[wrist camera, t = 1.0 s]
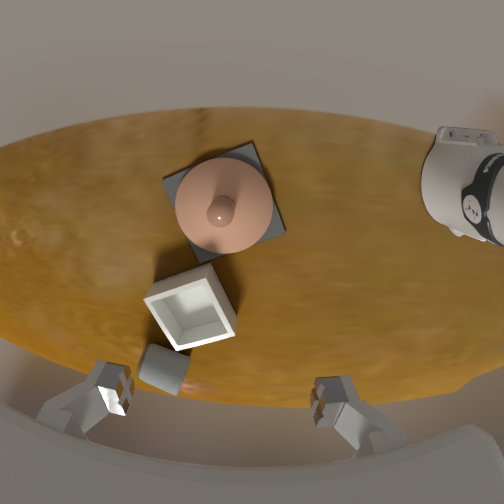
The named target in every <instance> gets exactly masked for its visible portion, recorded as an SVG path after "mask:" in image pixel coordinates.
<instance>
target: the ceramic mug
mask: <svg viewBox="0 0 504 504" xmlns="http://www.w3.org/2000/svg"><path fill="white" fill-rule="evenodd" d="M190 359H191V358H190V357H189V356H186V355H183V354H180V353H178V352H175V351H173V350H170V349H167V348H165V347H163V346H160V345H158V344H154V343H149V344H147V346H146V347H145V349H144V351H143V353H142V356H141V358H140V361H139V363H138V367H137V371H136V374H137V376H138V377H139V378H140V379H141V380H143V381H145V382H147V383H149V384H151V385H153V386H155V387H158V388H160V389H162V390H164V391H166V392H168V393H171V394H173V395H177V394H178V392H179V390H180V388H181V385H182V383H183V381H184V377H185V375H186V372H187V369H188V366H189V363H190Z"/></svg>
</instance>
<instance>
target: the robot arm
mask: <svg viewBox="0 0 504 504" xmlns="http://www.w3.org/2000/svg"><path fill="white" fill-rule="evenodd" d="M449 133H450V136H449ZM421 189H422V196H423V200H424V203H425V206H426V208H427V210H428V212H429V214H430V215H431V216H432V217H433V218H434V219H435V220H436V221H437V222H439V223H441V224H443V225H446V226H447V227H449V229H450V230H451V231H452V233H453V234H454V235H456V236H459V237H460V236H462V235H464V234H466V235H468V236H470V237H473V238H475V239H478V240H481V241H486V239H487V240H488V241H489V242H491V243H493V244H496V245H499V246H502V247H504V145H501V144H500V143H499V141H498V138H497V136H496V135H495V133H494V132H491V131H485V130H476V129H467V128H456V127H440V128H439V129H438V132H437V135H436V141H435V144H434V146H433V148H432V150H431V151H430V153H429V154H428V156H427V158H426V161H425V163H424V167H423V171H422V178H421ZM130 373H131V370H130V367H129V366H126V365H121V364H117V363H112V362H107V361H103V360H98V361H97V362H96V363H95V365H94V367H93V368H92V370H91V372H90V374H89V375H88V378H87V379H86V381H85V383H82V382H81V383H80V384H78V385H76V386H75V387H72V388H71V389H69V390H67V391H66V392H63V393H61V394H60V395H58V396H56V397H54V398H52V399H51V400H48V401H46V402H45V404H44V406H43V407H42V409H41V411H40V413H39V414H38V416H37V418H36V420H34V419H32V418H30V417H28V416H26V415H24V414H22V413H20V412H18V411H16V410H14V409H12V408H11V407H9V406H7V405H5V404H4V403H2V402H0V504H504V458H503V456H502V454H501V452H500V450H499V448H498V446H497V444H496V442H495V440H494V439H493V437H492V436H491V435H490V434H489V433H488V432H486V431H484V430H482V429H480V428H478V427H476V426H474V425H472V424H463V425H461V426H458V427H456V428H454V429H451V430H449V431H446V432H444V433H441V434H438V435H436V436H433V437H430V438H428V439H425V440H422V441H419V442H416V443H413V444H409V445H408V444H407V441H406V439H405V437H404V434H403V432H402V430H401V428H400V426H399V425H398V424H397V423H395V422H394V421H392V420H391V419H389V418H388V417H386V416H385V415H384V414H382V413H381V412H379V411H378V410H376V409H375V408H373V407H372V406H371V405H369V404H368V403H366V402H365V401H364V400H361V401H360V399H359V396H358V394H357V391H356V389H355V387H354V384H353V382H352V379H351V377H350V376H349V375H343V376H330V377H317V378H316V379H315V382H314V385H315V388H314V389H312V391H311V395H310V405H311V409H312V410H313V411H314V412H315V413H314V416H313V418H314V422H315V427H316V428H321V427H334V428H335V429H336V430H337V431H338V432H339V433H340V434H341V435H342V436H343V437H344V438H345V439H346V440H347V441H348V442H349V443H350V444H351V445H352V446H353V447H354V448H355V449H356V450H357V452H356V453H355V454H354V456H353V457H352V458H351V459H346V460H341V461H334V462H327V463H319V464H310V465H300V466H285V467H224V466H209V465H198V464H189V463H181V462H175V461H168V460H162V459H157V458H151V457H146V456H141V455H137V454H133V453H128V452H124V451H120V450H116V449H113V448H109V447H106V446H102V445H99V444H96V443H92V442H90V441H89V440H88V439H87V437H86V436H85V434H84V433H85V432H86V431H87V430H89V429H90V428H91V427H92V426H94V425H95V424H96V423H97V422H99V421H100V420H101V419H102V418H103V417H105V416H106V415H107V414H108V413H109V412H111V413H115V414H120V415H126V413H127V410H128V407H129V402H128V400H129V399H131V398H132V396H133V394H134V380H133V378H132V377H131V376H130Z"/></svg>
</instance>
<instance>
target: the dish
mask: <svg viewBox="0 0 504 504" xmlns="http://www.w3.org/2000/svg"><path fill="white" fill-rule="evenodd" d="M144 301H145V303H146V304H147V306H148V308H149V309H150V311H151V313H152V314H153V316H154V318H155V319H156V321H157V322H158V324H159V326H160V327H161V329H162V330H163V332H164V333H165V335H166V336H167V338H168V339H169V341H170V342H171V344H172V345H173V347H174V348H175V350H176V351H178V350H183V349H187V348H191V347H195V346H199V345H202V344H206V343H210V342H214V341H217V340H221V339H225V338H228V337H232V336H235V335H236V320H237V316H236V314H235V312H234V310H233V308H232V306H231V303H230V301H229V299H228V297H227V295H226V293H225V291H224V289H223V287H222V285H221V283H220V281H219V279H218V277H217V274H216V272H215V270H214V268H213V266H212V264H211V262H210V263H207V264H205V265H202V266H199V267H196V268H194V269H191V270H188V271H185V272H182V273H180V274H177V275H174V276H171V277H169V278H166V279H163V280H160V281H158V282H155V283H153V285H152V286H151V288H150V289H149V291H148V293H147V294H146V296H145V297H144Z"/></svg>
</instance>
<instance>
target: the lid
mask: <svg viewBox="0 0 504 504" xmlns="http://www.w3.org/2000/svg"><path fill="white" fill-rule="evenodd" d="M175 210H176V216H177V220H178V222H179V225H180V227H181V229H182V231H183V232H184V233H185V235H186V236H187V237H188V238H189V239H190V240H191V241H192V242H193V243H194V244H196V245H197V246H199V247H201V248H203V249H205V250H208V251H210V252H215V253H223V254H225V253H235V252H238V251H242V250H244V249H246V248H248V247H250V246H252V245H253V244H254V243H256V242H257V241H258V240H259V239H260V238H261V237H262V236H263V234H264V233H265V232H266V230H267V228H268V226H269V224H270V221H271V218H272V212H273V200H272V195H271V191H270V189H269V186H268V184H267V182H266V181H265V179H264V177H263V176H262V175H261V174H260V173H259V172H258V171H257V170H256V169H255V168H254V167H252V166H251V165H249V164H247V163H245V162H243V161H240V160H238V159H233V158H215V159H211V160H208V161H205V162H203V163H201V164H199V165H197V166H196V167H194V168H193V169H192V170H191V171H190V172H188V174H187V175H186V176H185V177H184V179H183V180H182V182H181V183H180V186H179V188H178V191H177V194H176V200H175Z"/></svg>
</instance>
